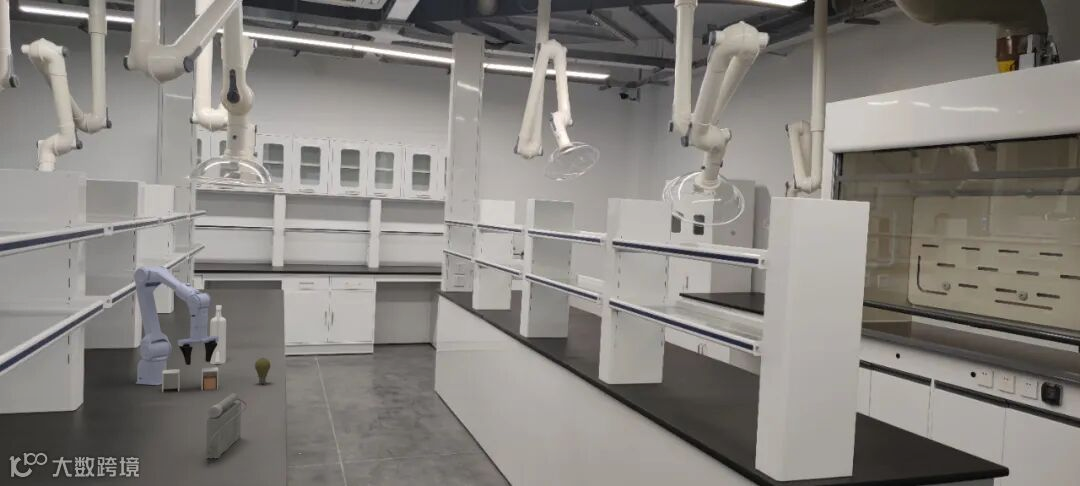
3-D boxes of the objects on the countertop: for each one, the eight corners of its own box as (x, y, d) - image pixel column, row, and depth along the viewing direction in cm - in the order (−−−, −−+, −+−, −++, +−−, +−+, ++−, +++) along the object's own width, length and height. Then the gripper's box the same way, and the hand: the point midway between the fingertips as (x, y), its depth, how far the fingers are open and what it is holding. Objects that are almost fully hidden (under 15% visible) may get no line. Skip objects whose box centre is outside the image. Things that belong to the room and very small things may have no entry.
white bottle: (207, 365, 317) (209, 306, 317) (209, 361, 328) (212, 303, 328) (224, 365, 319) (227, 306, 319) (226, 360, 330) (228, 304, 330)
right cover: (201, 390, 276) (201, 371, 275) (201, 386, 281) (201, 368, 280) (218, 389, 278) (218, 370, 278) (217, 385, 283) (218, 367, 283)
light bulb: (264, 386, 285) (265, 360, 284) (251, 385, 286) (252, 358, 286) (273, 383, 290) (273, 357, 290) (259, 381, 291) (260, 356, 291)
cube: (203, 389, 277) (204, 379, 277) (203, 387, 280) (203, 376, 280) (215, 389, 278) (215, 378, 278) (215, 386, 282) (215, 376, 282)
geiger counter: (227, 390, 221) (195, 412, 196) (249, 390, 221) (220, 412, 196) (226, 437, 221) (194, 465, 196) (248, 437, 222) (219, 465, 197)
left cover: (161, 392, 270) (162, 373, 270) (162, 388, 275) (162, 370, 275) (179, 391, 273) (179, 372, 272) (179, 387, 278) (179, 369, 277)
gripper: (185, 329, 268) (184, 367, 269) (223, 325, 280) (222, 362, 280) (175, 327, 272) (174, 364, 273) (213, 323, 284) (212, 359, 284)
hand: (198, 363), depth 277 cm, fingers open, 7 cm apart
